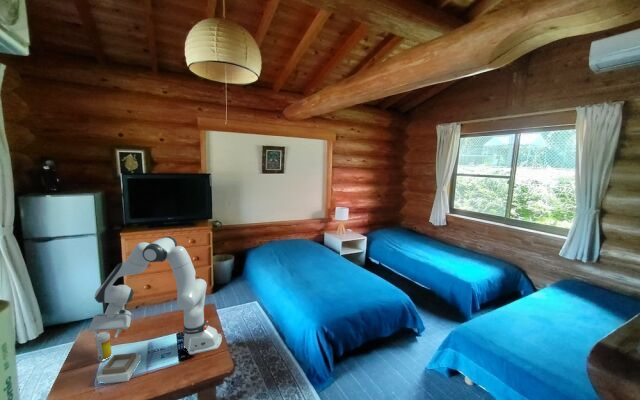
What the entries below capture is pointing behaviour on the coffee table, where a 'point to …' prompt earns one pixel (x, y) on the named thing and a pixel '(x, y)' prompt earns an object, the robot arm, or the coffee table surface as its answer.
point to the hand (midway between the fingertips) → (105, 338)
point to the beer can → (103, 345)
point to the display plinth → (119, 368)
